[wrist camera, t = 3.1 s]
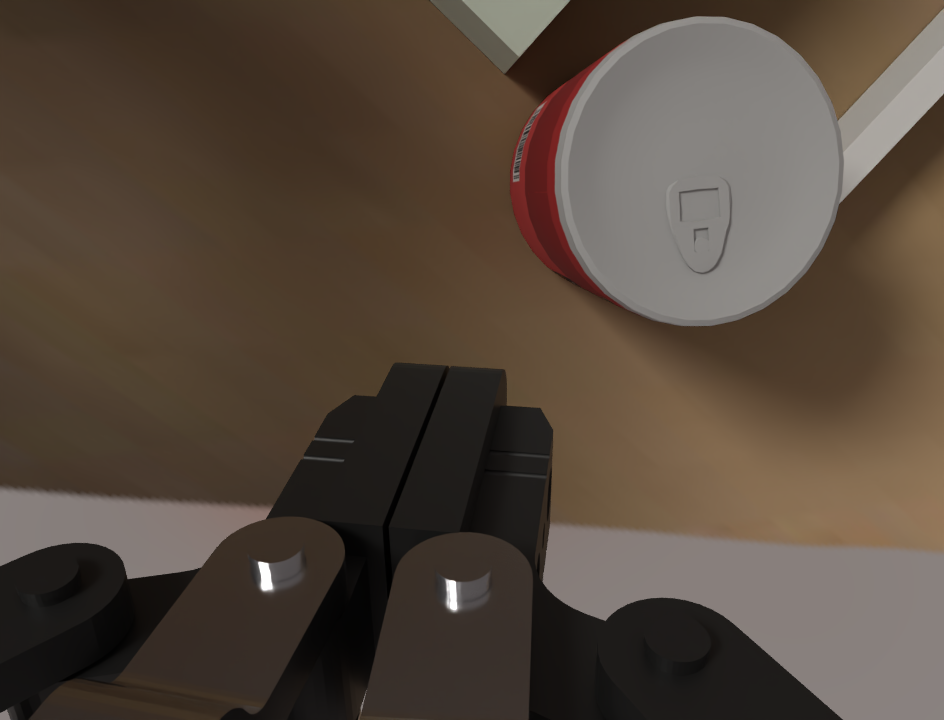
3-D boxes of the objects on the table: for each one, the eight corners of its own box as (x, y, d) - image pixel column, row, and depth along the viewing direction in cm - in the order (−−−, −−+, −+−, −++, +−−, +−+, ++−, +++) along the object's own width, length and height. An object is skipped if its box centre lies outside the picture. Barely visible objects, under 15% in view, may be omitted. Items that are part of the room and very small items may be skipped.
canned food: (549, 317, 34) (618, 372, 24) (474, 118, 33) (511, 79, 22) (731, 244, 34) (884, 265, 24) (666, 42, 33) (797, -34, 22)
